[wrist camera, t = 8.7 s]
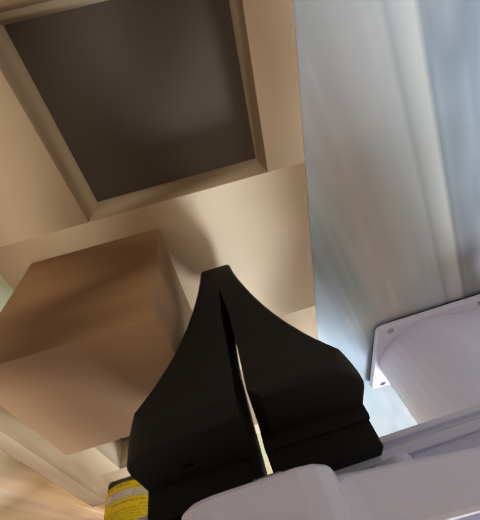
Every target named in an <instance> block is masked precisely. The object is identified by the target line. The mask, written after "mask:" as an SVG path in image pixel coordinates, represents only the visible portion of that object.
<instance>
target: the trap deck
mask: <svg viewBox="0 0 480 520" xmlns="http://www.w3.org/2000/svg"><path fill="white" fill-rule="evenodd" d="M154 229H158V230H159V232H160V235H161V237H162V240H163V242H164V244H165V247H166V249H167V252H168V254H169V257H170V259H171V261H172V264H173V266H174V269H175V271H176V273H177V276H178V278H179V281H180V283H181V285H182V288H183V290H184V293H185V295H186V298H187V300H188V302H189V305H190V307H191V310H192V312H193V309H194V306H195V302H196V298H197V295H198V290H199V285H200V276H201V273H202V272H203V271H206V270H210V269H213V268H216V267H220V266H223V265H229V266H230V267H231V269H232V271H233V273H234V274H235V275H236V277H237V278H238V279H239V281H240V282H241V283H242V284H243V285H244V286H245V287H246V289H247V290H248V291H249V292H250V293H251V294H252V295H253V296H254V297H255V298H256V299H257V300H258V301H260V302H261V303H262V304H263V305H264V306H265V307H266V308H268V309H269V310H270V311H271V312H273V313H274V314H275V315H277V316H278V317H280V318H281V319H282V320H284V321H285V322H287V323H288V324H290V325H292V326H293V327H295V328H297V329H298V330H300V331H302V332H303V333H305V334H307V335H309V336H311V337H313V338H315V339H317V340H318V334H317V321H316V307H315V293H314V279H313V265H312V252H311V238H310V224H309V210H308V196H307V182H306V169H305V155H304V141H303V127H302V113H301V100H300V86H299V72H298V58H297V44H296V30H295V17H294V3H293V0H0V312H1V311H2V309H3V308H4V306H5V305H6V303H7V301H8V300H9V298H10V297H11V295H12V293H13V292H14V290H15V289H16V287H17V285H18V284H19V282H20V281H21V279H22V277H23V276H24V274H25V273H26V271H27V270H28V268H29V266H30V265H31V263H35V262H38V261H42V260H46V259H49V258H53V257H56V256H60V255H64V254H67V253H71V252H75V251H78V250H82V249H85V248H89V247H93V246H96V245H100V244H103V243H107V242H111V241H114V240H118V239H121V238H125V237H129V236H132V235H136V234H140V233H143V232H147V231H150V230H154ZM236 347H237V345H236ZM237 353H238V350H237ZM238 359H239V354H238ZM239 366H240V371H241V376H242V380H243V384H244V388H245V392H246V396H247V399H248V403H249V407H250V411H251V415H252V419H253V422H254V426H255V430H256V434H260V433H261V432H260V429H259V425H258V423H257V420H256V417H255V414H254V411H253V408H252V405H251V402H250V399H249V396H248V393H247V390H246V386H245V381H244V377H243V372H242V368H241V363H240V359H239ZM128 443H129V436H128V437H125V438H121V439H118V440H115V441H112V442H109V443H106V444H102V445H99V446H96V447H93V448H90V449H87V450H84V451H80V452H77V453H74V454H71V455H68V456H66V455H65V454H63V453H62V452H61V451H60V450H58V449H57V448H56V447H54V446H53V445H52V444H50V443H49V442H48V441H46V440H45V439H44V438H42V437H41V436H40V435H38V434H37V433H36V432H35V431H33V430H32V429H31V428H29V427H28V426H27V425H25V424H24V423H23V422H21V421H20V420H19V419H17V418H16V417H15V416H14V415H12V414H11V413H10V412H8V411H7V410H6V409H4V408H3V407H2V406H0V450H1V451H3V452H5V453H6V454H8V455H10V456H11V457H13V458H14V459H16V460H18V461H19V462H21V463H22V464H24V465H26V466H27V467H29V468H31V469H32V470H34V471H35V472H37V473H39V474H40V475H42V476H44V477H45V478H47V479H48V480H50V481H52V482H53V483H55V484H56V485H58V486H60V487H61V488H63V489H65V490H66V491H68V492H69V493H71V494H73V495H74V496H76V497H78V498H79V499H81V500H82V501H84V502H86V503H87V504H89V505H90V506H92V507H94V506H97V505H100V504H103V503H106V501H107V494H108V486H109V483H110V482H113V481H116V480H119V479H122V478H126V477H129V476H131V475H130V474H129V472H128V471H127V456H128Z"/></svg>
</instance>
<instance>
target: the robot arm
mask: <svg viewBox="0 0 480 520" xmlns="http://www.w3.org/2000/svg"><path fill="white" fill-rule="evenodd" d="M236 345H237V347H236ZM237 350H238V353H237ZM238 354H239V359H240V363H241V368H242V372H243V377H244V381H245V386H246V390H247V393H248V396H249V399H250V402H251V405H252V408H253V411H254V414H255V417H256V420H257V423H258V425H259V429H260V432H261V436H262V440H263V444H264V448H265V451H266V453H267V456H268V459H269V462H270V465H271V467H272V470H273V473H272V474H269V475H267V471H266V468H265V464H264V460H263V456H262V453H261V449H260V445H259V441H258V438H257V434H256V430H255V426H254V422H253V419H252V415H251V411H250V407H249V403H248V399H247V396H246V392H245V388H244V384H243V380H242V376H241V371H240V366H239V359H238ZM389 384H391V386H392V387H393V389H394V390H395V392H396V393H397V394H398V396H399V397H400V399H401V400H402V402H403V403H404V405H405V406H406V407H407V409H408V410H409V412H410V413H411V415H412V416H413V418H414V419H415V421H416V422H417V423H418V425H415V426H412V427H409V428H406V429H403V430H400V431H397V432H394V433H391V434H388V435H385V436H382V437H378V435H377V434H376V432H375V430H374V428H373V426H372V425H371V423H370V421H369V419H370V417H369V414H368V412H367V410H366V409H365V407H364V405H363V394H364V382H363V379H362V378H361V376H360V374H359V373H358V371H357V370H356V369H355V367H354V366H353V365H352V364H351V362H350V361H349V360H348V359H347V358H346V357H345V356H344V354H343V353H342V352H341V351H340V350H339V349H337V348H334V347H332V346H330V345H327V344H325V343H323V342H321V341H319V340H317V339H315V338H313V337H311V336H309V335H307V334H305V333H303V332H302V331H300V330H298V329H297V328H295V327H293V326H292V325H290V324H288V323H287V322H285V321H284V320H282V319H281V318H280V317H278V316H277V315H275V314H274V313H273V312H271V311H270V310H269V309H268V308H266V307H265V306H264V305H263V304H262V303H261V302H260V301H258V300H257V299H256V298H255V297H254V296H253V295H252V294H251V293H250V292H249V291H248V290H247V289H246V287H245V286H244V285H243V284H242V283H241V282H240V281H239V279H238V278H237V277H236V275H235V274H234V273H233V271H232V269H231V267H230V266H229V265H223V266H220V267H216V268H213V269H210V270H206V271H203V272H202V273H201V276H200V285H199V290H198V295H197V298H196V302H195V306H194V309H193V312H192V315H191V318H190V321H189V324H188V327H187V329H186V332H185V334H184V336H183V338H182V341H181V343H180V345H179V347H178V349H177V351H176V353H175V355H174V356H173V358H172V360H171V362H170V364H169V365H168V367H167V369H166V370H165V372H164V373H163V375H162V376H161V378H160V379H159V381H158V383H157V384H156V386H155V387H154V389H153V390H152V391H151V393H150V394H149V395H148V397H147V398H146V399H145V401H144V402H143V403H142V404H141V406H140V407H139V408H138V410H137V411H136V412H135V413H134V417H133V421H132V426H131V431H130V436H129V443H128V456H127V471H128V472H129V474H130V475H131V476H132V477H133V478H134V479H135V480H136V481H137V482H138V483H140V484H141V485H142V486H143V487H144V488H145V489H146V490H147V491H148V515H147V516H144V517H141V518H138V519H135V520H480V294H478V295H475V296H472V297H469V298H466V299H462V300H459V301H456V302H453V303H450V304H446V305H443V306H440V307H437V308H434V309H431V310H427V311H424V312H421V313H418V314H415V315H411V316H408V317H405V318H402V319H399V320H396V321H392V322H389V323H386V324H383V325H380V326H379V327H377V328H376V330H375V337H374V346H373V356H372V366H371V375H370V386H371V387H372V388H373V389H376V388H380V387H383V386H386V385H389Z"/></svg>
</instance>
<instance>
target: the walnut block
mask: <svg viewBox="0 0 480 520" xmlns="http://www.w3.org/2000/svg"><path fill="white" fill-rule="evenodd" d="M191 315H192V310H191V307H190V305H189V302H188V300H187V298H186V295H185V293H184V290H183V288H182V285H181V283H180V281H179V278H178V276H177V273H176V271H175V269H174V266H173V264H172V261H171V259H170V257H169V254H168V252H167V249H166V247H165V244H164V242H163V240H162V237H161V235H160V232H159V230H158V229H154V230H150V231H147V232H143V233H140V234H136V235H132V236H129V237H125V238H121V239H118V240H114V241H111V242H107V243H103V244H100V245H96V246H93V247H89V248H85V249H82V250H78V251H75V252H71V253H67V254H64V255H60V256H56V257H53V258H49V259H46V260H42V261H38V262H35V263H31V265H30V266H29V268H28V270H27V271H26V273H25V274H24V276H23V277H22V279H21V281H20V282H19V284H18V285H17V287H16V289H15V290H14V292H13V293H12V295H11V297H10V298H9V300H8V301H7V303H6V305H5V306H4V308H3V309H2V311H1V312H0V406H2V407H3V408H4V409H6V410H7V411H8V412H10V413H11V414H12V415H14V416H15V417H16V418H17V419H19V420H20V421H21V422H23V423H24V424H25V425H27V426H28V427H29V428H31V429H32V430H33V431H35V432H36V433H37V434H38V435H40V436H41V437H42V438H44V439H45V440H46V441H48V442H49V443H50V444H52V445H53V446H54V447H56V448H57V449H58V450H60V451H61V452H62V453H63V454H65V455H66V456H68V455H71V454H74V453H77V452H80V451H84V450H87V449H90V448H93V447H96V446H99V445H102V444H106V443H109V442H112V441H115V440H118V439H121V438H125V437H128V436H130V431H131V426H132V421H133V417H134V413H135V412H136V411H137V410H138V408H139V407H140V406H141V404H142V403H143V402H144V401H145V399H146V398H147V397H148V395H149V394H150V393H151V391H152V390H153V389H154V387H155V386H156V384H157V383H158V381H159V379H160V378H161V376H162V375H163V373H164V372H165V370H166V369H167V367H168V365H169V364H170V362H171V360H172V358H173V356H174V355H175V353H176V351H177V349H178V347H179V345H180V343H181V341H182V338H183V336H184V334H185V332H186V329H187V327H188V324H189V321H190V318H191Z"/></svg>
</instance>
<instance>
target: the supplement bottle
mask: <svg viewBox="0 0 480 520" xmlns="http://www.w3.org/2000/svg"><path fill="white" fill-rule="evenodd" d="M147 515H148V491H147V490H146V489H145V488H144V487H143V486H142V485H141V484H140V483H138V482H137V481H136V480H135V479H134V478H133V477H132V476H129V477H126V478H122V479H119V480H116V481H113V482H110V483H109V486H108V494H107V501H106V507H105V515H104V520H135V519H138V518H141V517H144V516H147Z"/></svg>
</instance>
